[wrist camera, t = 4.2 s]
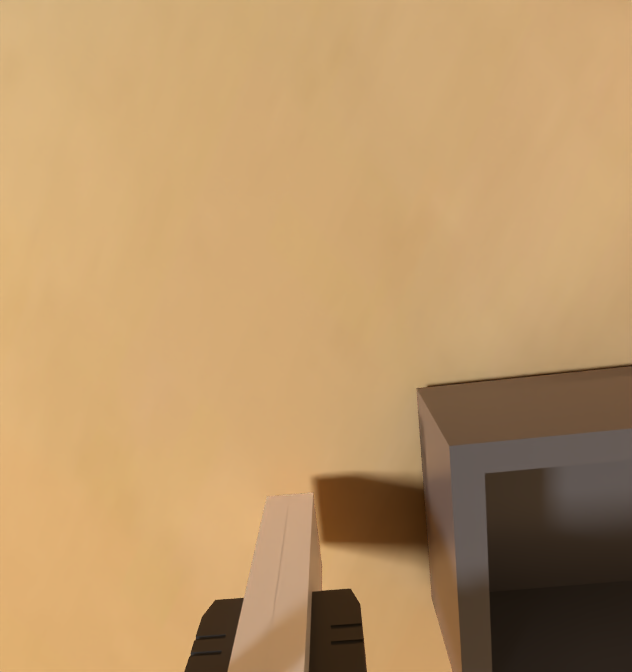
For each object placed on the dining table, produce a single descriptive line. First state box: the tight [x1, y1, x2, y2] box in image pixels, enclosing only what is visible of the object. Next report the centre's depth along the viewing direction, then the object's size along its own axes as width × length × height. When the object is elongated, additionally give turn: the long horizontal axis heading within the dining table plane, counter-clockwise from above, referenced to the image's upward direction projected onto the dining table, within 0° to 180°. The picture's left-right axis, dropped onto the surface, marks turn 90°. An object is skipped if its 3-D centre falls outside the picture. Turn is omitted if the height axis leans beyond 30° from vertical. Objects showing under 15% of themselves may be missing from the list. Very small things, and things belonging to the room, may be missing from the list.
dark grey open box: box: [417, 366, 632, 672], centre depth 13 cm, size 8×10×4 cm
